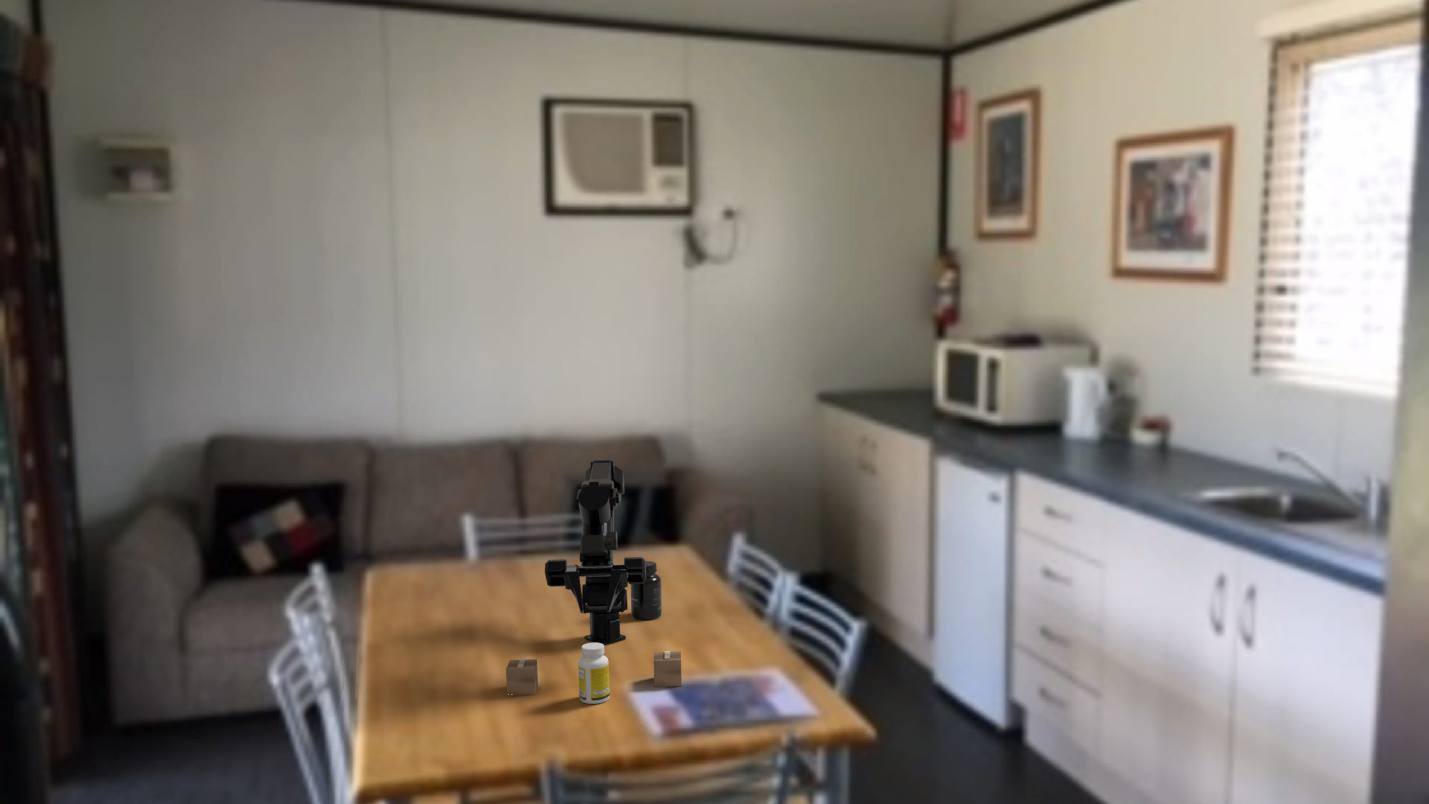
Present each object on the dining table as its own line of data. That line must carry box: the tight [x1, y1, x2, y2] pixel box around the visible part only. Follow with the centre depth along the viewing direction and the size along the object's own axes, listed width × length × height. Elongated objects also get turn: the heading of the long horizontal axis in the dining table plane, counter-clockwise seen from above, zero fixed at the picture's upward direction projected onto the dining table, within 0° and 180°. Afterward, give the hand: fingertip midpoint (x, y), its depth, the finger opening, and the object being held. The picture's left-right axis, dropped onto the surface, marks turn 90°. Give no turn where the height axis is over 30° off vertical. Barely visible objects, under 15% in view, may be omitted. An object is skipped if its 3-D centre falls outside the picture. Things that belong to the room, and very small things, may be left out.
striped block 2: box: [653, 650, 683, 688], centre depth 213 cm, size 5×5×5 cm
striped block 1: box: [505, 658, 539, 696], centre depth 210 cm, size 5×5×5 cm
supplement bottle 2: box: [629, 560, 663, 621], centre depth 254 cm, size 7×7×12 cm
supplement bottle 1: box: [577, 642, 611, 705], centre depth 205 cm, size 5×5×10 cm
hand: (595, 611), depth 212 cm, fingers open, 5 cm apart
